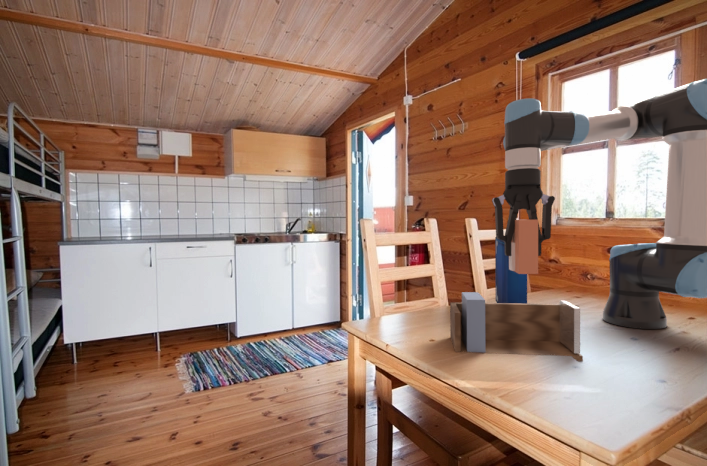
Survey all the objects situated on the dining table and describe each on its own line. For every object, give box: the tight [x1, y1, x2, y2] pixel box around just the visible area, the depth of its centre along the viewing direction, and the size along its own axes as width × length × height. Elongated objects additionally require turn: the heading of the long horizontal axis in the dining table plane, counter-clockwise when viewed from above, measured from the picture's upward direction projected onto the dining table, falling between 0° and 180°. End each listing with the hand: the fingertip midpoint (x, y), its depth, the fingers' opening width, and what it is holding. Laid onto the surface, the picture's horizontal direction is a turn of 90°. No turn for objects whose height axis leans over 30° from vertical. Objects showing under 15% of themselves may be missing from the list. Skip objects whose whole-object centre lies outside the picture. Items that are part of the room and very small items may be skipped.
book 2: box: [494, 236, 528, 304], centre depth 129 cm, size 22×7×25 cm, turn 168°
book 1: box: [461, 291, 486, 352], centre depth 91 cm, size 4×9×12 cm, turn 171°
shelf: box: [449, 301, 584, 362], centre depth 91 cm, size 27×11×10 cm, turn 81°
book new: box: [511, 219, 539, 275], centre depth 89 cm, size 4×9×12 cm, turn 171°
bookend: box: [559, 299, 581, 354], centre depth 88 cm, size 1×8×10 cm, turn 171°
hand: (522, 269), depth 89 cm, fingers closed on book new, 4 cm apart
